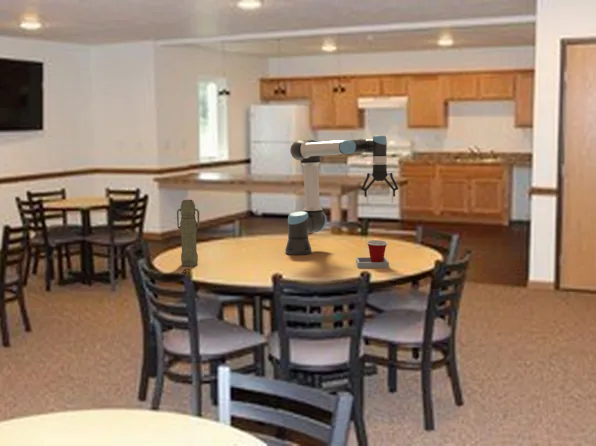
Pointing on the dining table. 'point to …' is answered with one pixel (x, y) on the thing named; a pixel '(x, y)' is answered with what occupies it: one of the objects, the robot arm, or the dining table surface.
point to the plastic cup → (377, 250)
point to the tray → (371, 263)
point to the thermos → (188, 233)
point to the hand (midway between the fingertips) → (379, 202)
